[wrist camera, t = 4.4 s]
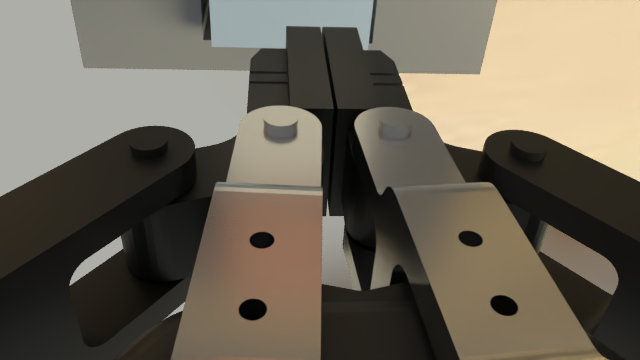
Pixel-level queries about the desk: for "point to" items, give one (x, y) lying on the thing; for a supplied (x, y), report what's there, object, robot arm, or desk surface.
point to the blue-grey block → (282, 20)
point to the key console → (198, 54)
